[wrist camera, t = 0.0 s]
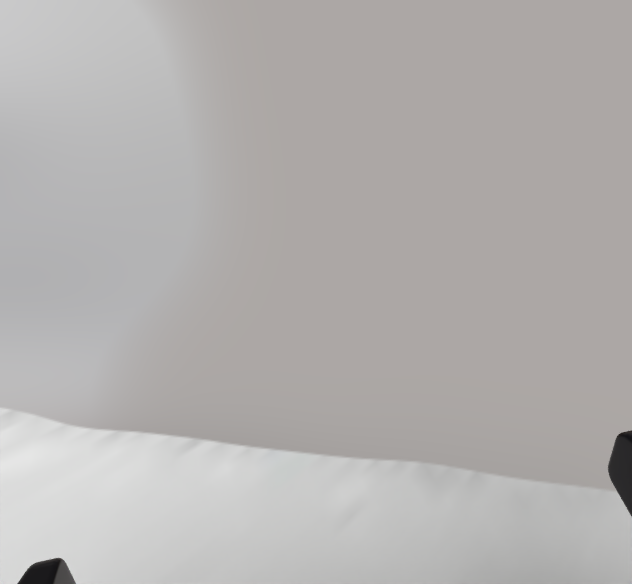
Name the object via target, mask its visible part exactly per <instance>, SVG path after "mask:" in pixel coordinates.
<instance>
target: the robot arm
mask: <svg viewBox="0 0 632 584" xmlns="http://www.w3.org/2000/svg"><path fill="white" fill-rule="evenodd" d="M608 472H609V476H610V478H611V481H612V483H613V485H614V486H615V488H616V490H617V492H618V493H619V495H620V497H621V499H622V500H623V502H624V504H625V506H626V507H627V509H628V511H629V513H630V514H631V516H632V431H627V432H623V433H620V434H619V435H618V436H617V438H616V440H615V444H614V447H613V451H612V454H611V457H610V461H609V465H608ZM18 584H76V583H75V581H74V579H73V577H72V575H71V573H70V571H69V568H68V566H67V564H66V563H65V561H64V560H63V559H61V558H55V559H50V560H46V561H41V562H37V563H35V564H33V565H31V566H30V567H29V568H28V569H27V571H26V572H25V574H24V575H23V576H22V578H21V579H20V581H19V582H18Z"/></svg>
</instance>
